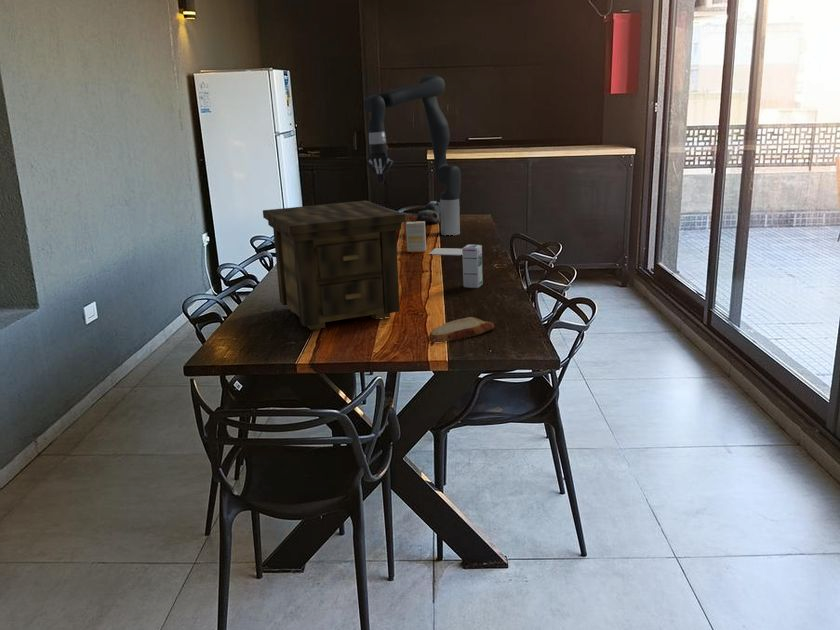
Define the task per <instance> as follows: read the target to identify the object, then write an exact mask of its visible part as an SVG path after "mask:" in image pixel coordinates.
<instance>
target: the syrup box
mask: <svg viewBox="0 0 840 630" xmlns="http://www.w3.org/2000/svg"><path fill="white" fill-rule="evenodd" d="M461 249H462V277H463V278H462V282H463V287H464V288H469V289H470V288H471V289H479V288H480V287H481V286H482V285H483V284H484V283H483V282H484V278H483V277H484V275H483V271H484V270H483V245H481V244H466V245H465V246H464V247H462V248H461Z"/></svg>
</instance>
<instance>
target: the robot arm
mask: <svg viewBox="0 0 840 630" xmlns="http://www.w3.org/2000/svg"><path fill="white" fill-rule="evenodd" d="M445 89H446V83H445V80H444V78H442V77H441V76H439V75H431V74H429V75H428V74H426V75H423V76H422V77H421V78H420V79H419V81H418V83H417V84H413V85H408V86H407V85H406V86H401V87H397V88H393V89H391V90H387V91H385V92H381V93H376V94H373V95H372V94H371V95H368V96H366V97H365V99H363V102H362V103H363V104H362V105H363V108H364V110H365V111H366V112H367V113H371V115H370V118H369V119H368V121H367V127H368V143H369V152H370V157H369V160H368V161H366V166H368V168H369V169H370V171H371V172H372V173H374V174H376V175H377V181H378V183H384V182H385V180H386V176H385V174H386V173H388V172H389V170H390V168H391V166H392V165H393V164H394V160H392V159H390V158H389V155H388V146H387V145H388V143H387V137H386V131H385V122H384V121H385V115H386V108H392V107H397V106H400V105H402V104H403V105H404V104H405V103H410V102H412V101H416V100H418V99H419V100H420V99H421V100H422V103H423V106H424V107H423V108H424V111H425V116H426V121H427V126H428V132H429V137H430V141H431V147H432V153H433V158H434V160H433V161H434V169H435V171H434V172H435V178H436V180H437V182H438V183H440V184H441V185H446V189H445V191H442V192H440V194H439V199H440V200H439V201H440V206H441V213H440V231H441V232H440V233H441V235H442V236H446V235H449V236H450V235H453V236H458V235H460V234H461V227H460V226H461V223H460V222H461V215H460V214H461V213H460V195H461V192H462V191H461V190H462V172H461V169H460V167H458V165H451V164H450V165H449V164H448V161H447V151H448V147H449V145H450V144H449V143H450V140H451V139H450V138H451V134H450V133H451V132H450V128H449V127H450V126H449V123H448V120H447V118H446V117H445V115H444V113H443V111H442V110H441V107H440V105H439V102H438V97H439V96H440V95H442V94H443V93H444V92H445Z"/></svg>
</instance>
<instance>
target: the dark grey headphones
mask: <svg viewBox="0 0 840 630" xmlns="http://www.w3.org/2000/svg"><path fill="white" fill-rule="evenodd" d="M416 216H417V217H416V219H415V221H414V222H417V221H425V223H431V224H432V223H434V224H437V223H438V224H440V222H441V217H440V216H441V206H440V200H438V201H436V200H431V201H429V202H428V203H427V204H426V205H425V206H424V205H422V207H421V211H419V212H418V213H417V215H416Z"/></svg>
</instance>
